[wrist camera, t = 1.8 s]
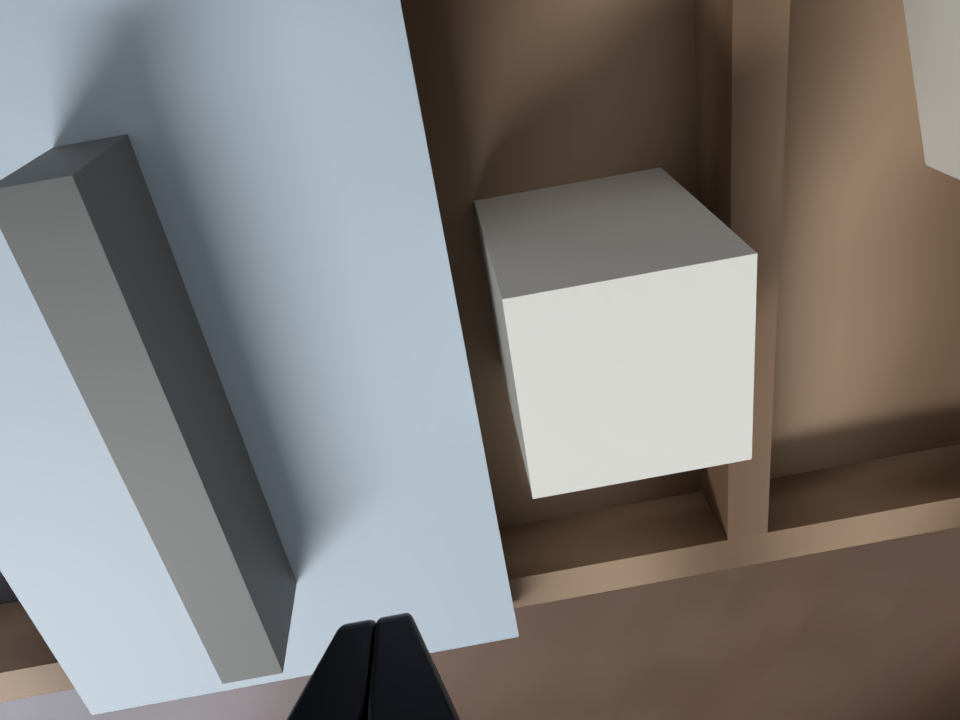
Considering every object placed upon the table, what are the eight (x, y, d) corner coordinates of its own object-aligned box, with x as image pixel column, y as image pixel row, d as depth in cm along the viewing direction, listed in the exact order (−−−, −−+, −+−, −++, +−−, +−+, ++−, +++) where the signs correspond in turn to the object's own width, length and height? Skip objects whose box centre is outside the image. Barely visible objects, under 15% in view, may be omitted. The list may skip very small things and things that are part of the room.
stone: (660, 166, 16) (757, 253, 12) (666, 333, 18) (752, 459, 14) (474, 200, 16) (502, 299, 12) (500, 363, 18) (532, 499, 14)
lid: (375, -136, 11) (367, -156, 9) (515, 617, 19) (534, 724, 17) (-333, -11, 11) (-555, 6, 9) (100, 693, 19) (53, 813, 17)
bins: (1281, -283, 14) (1446, -324, 12) (1076, 435, 22) (1152, 491, 20) (-453, 24, 14) (-615, 41, 11) (-25, 636, 22) (-73, 715, 19)
